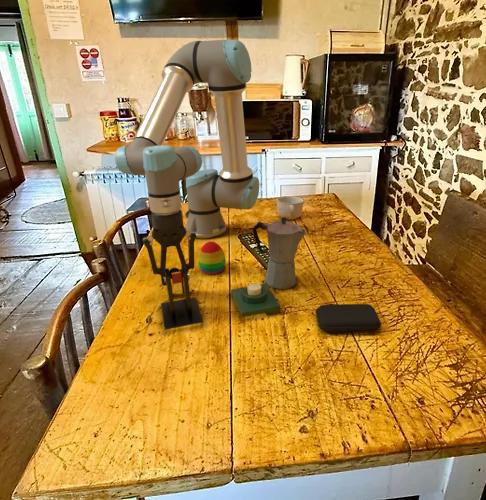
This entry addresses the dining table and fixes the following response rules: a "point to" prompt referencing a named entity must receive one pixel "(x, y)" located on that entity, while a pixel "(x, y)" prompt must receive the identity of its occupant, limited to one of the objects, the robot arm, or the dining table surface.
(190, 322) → the switch bracket
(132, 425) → the dining table surface
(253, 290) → the button
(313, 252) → the dining table surface
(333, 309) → the carrying case
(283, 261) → the moka pot
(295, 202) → the teacup
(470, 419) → the dining table surface
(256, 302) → the control block
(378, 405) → the dining table surface
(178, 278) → the switch lever
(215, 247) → the decorative egg
